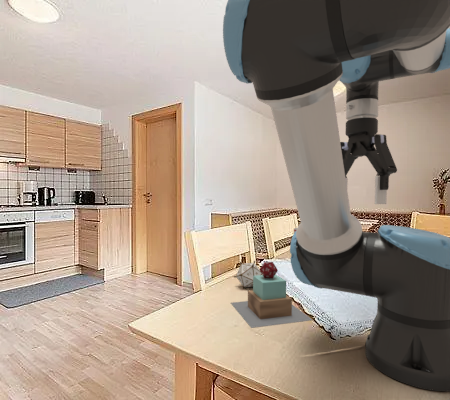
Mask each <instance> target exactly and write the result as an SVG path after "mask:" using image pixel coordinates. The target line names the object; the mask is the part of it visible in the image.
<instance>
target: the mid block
mask: <svg viewBox="0 0 450 400" xmlns="http://www.w3.org/2000/svg"><path fill="white" fill-rule="evenodd" d="M252 290H253V292H254V293H255V294H256V295H258V296H259V297H260V298H261V299H262V300H267V299H277V298H286V295H287V280H286V279H284V278H282V277H281V276H279V275H277V273H276V274H275V276H274V277H273V278H264V276H263V275H257V276H253V287H252Z"/></svg>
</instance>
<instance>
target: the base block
mask: <svg viewBox="0 0 450 400" xmlns="http://www.w3.org/2000/svg"><path fill="white" fill-rule="evenodd" d="M247 301H248V307H249V308H250V309H251V310H252V311H253V312H254V313H255V314H256V316H257V317H258V318H259V319H267V318H275V317H283V316H292V305H293V299H292V297H290V296H289V295H287V294H286V298H277V299H267V300H262V299H261V298H260V297H259V296H258V295H256V294H255V293H254V292H253V289H252V290H247Z"/></svg>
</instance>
